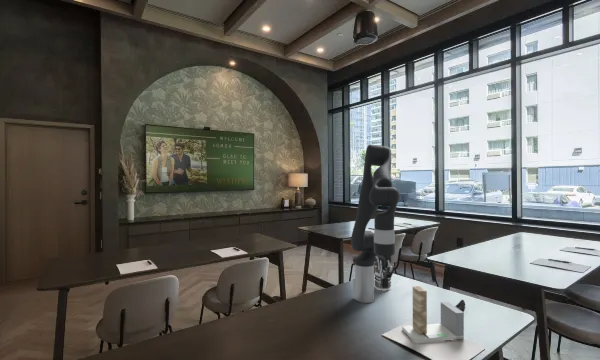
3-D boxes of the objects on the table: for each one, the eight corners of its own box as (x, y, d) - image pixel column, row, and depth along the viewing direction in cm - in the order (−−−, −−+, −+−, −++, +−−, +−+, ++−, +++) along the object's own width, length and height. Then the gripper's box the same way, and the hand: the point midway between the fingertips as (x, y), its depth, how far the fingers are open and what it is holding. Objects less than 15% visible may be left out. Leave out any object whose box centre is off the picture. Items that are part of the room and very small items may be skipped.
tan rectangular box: (424, 339, 114) (423, 294, 114) (412, 328, 122) (412, 286, 122) (431, 338, 114) (431, 294, 114) (420, 327, 123) (420, 286, 122)
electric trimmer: (467, 307, 146) (467, 300, 146) (459, 319, 134) (459, 311, 134) (458, 305, 148) (458, 298, 148) (449, 316, 136) (449, 309, 136)
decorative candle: (374, 290, 167) (374, 243, 166) (373, 284, 176) (373, 239, 175) (392, 291, 165) (392, 243, 165) (390, 285, 174) (390, 239, 174)
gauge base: (414, 343, 115) (414, 315, 114) (402, 330, 124) (402, 304, 124) (463, 339, 117) (463, 312, 117) (447, 326, 127) (447, 301, 127)
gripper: (401, 244, 111) (402, 293, 112) (386, 237, 125) (387, 281, 125) (381, 245, 110) (381, 295, 111) (368, 237, 124) (368, 282, 124)
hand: (384, 287), depth 118 cm, fingers closed
